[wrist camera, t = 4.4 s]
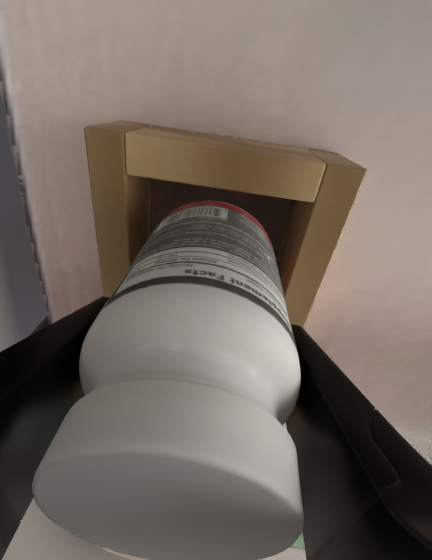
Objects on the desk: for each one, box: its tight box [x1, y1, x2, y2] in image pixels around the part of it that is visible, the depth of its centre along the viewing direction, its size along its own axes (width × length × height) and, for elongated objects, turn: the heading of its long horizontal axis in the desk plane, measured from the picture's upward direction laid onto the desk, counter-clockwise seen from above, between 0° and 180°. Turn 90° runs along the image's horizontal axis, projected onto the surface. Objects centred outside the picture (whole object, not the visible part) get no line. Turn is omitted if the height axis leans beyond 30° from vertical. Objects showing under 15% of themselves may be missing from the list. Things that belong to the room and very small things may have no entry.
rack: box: [84, 121, 367, 328], centre depth 16 cm, size 10×18×4 cm, turn 173°
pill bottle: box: [32, 200, 304, 560], centre depth 9 cm, size 6×6×10 cm
